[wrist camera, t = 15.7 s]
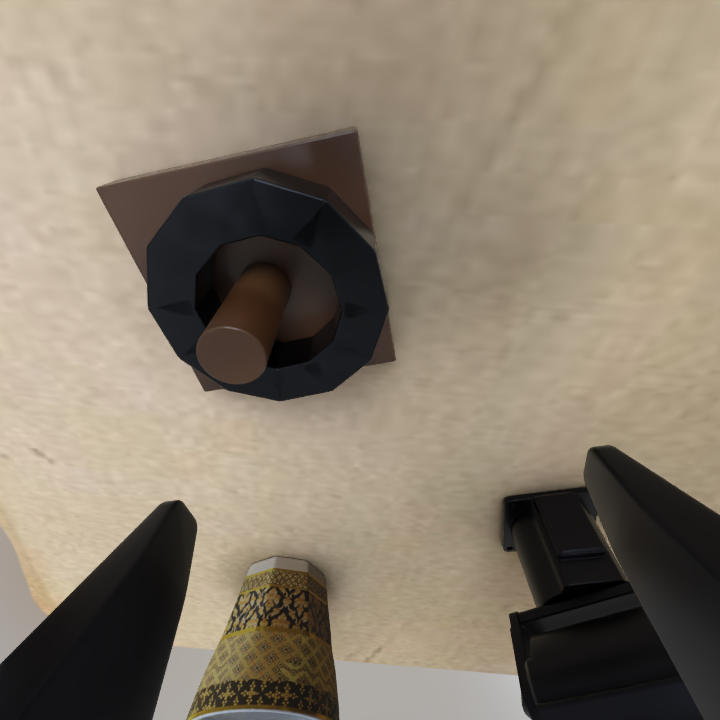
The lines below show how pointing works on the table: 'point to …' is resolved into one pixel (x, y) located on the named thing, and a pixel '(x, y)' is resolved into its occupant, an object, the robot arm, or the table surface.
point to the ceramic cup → (273, 650)
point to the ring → (283, 223)
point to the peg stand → (253, 253)
